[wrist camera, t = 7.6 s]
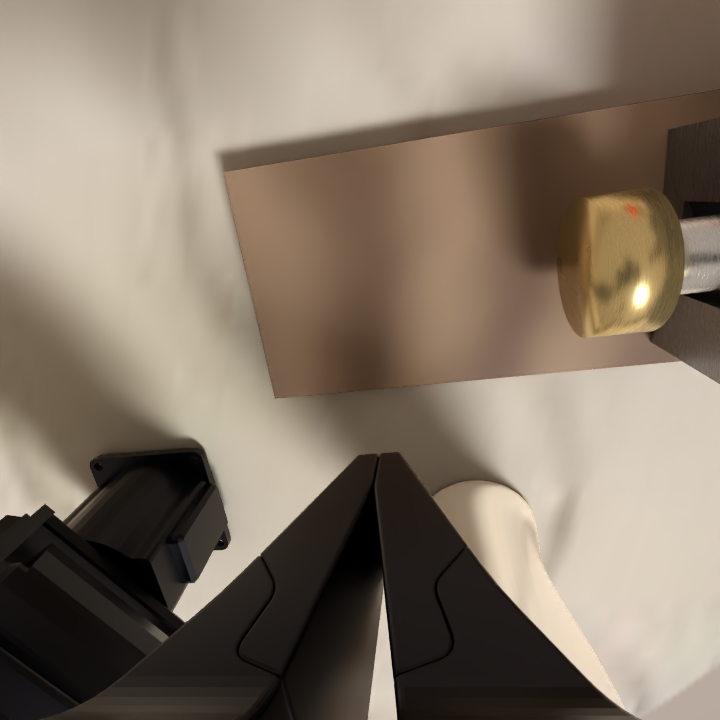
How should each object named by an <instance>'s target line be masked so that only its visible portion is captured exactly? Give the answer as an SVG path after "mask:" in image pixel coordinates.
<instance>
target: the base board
mask: <svg viewBox="0 0 720 720" xmlns="http://www.w3.org/2000/svg"><path fill="white" fill-rule="evenodd" d="M718 117H720V90H714V91H708V92H702V93H696V94H690V95H684V96H678V97H672V98H666V99H660V100H654V101H648V102H642V103H636V104H630V105H624V106H618V107H612V108H606V109H600V110H594V111H588V112H582V113H576V114H570V115H564V116H558V117H552V118H546V119H540V120H534V121H528V122H522V123H516V124H510V125H504V126H498V127H492V128H486V129H480V130H474V131H468V132H462V133H456V134H450V135H444V136H438V137H432V138H426V139H420V140H414V141H408V142H402V143H396V144H390V145H384V146H378V147H372V148H366V149H360V150H354V151H348V152H342V153H336V154H330V155H324V156H318V157H312V158H306V159H300V160H294V161H288V162H282V163H276V164H270V165H264V166H258V167H252V168H246V169H240V170H234V171H228V172H224V177H225V181H226V185H227V190H228V194H229V199H230V203H231V207H232V212H233V216H234V220H235V225H236V229H237V234H238V238H239V242H240V247H241V251H242V256H243V260H244V264H245V269H246V273H247V277H248V282H249V286H250V291H251V295H252V299H253V304H254V308H255V313H256V317H257V321H258V326H259V330H260V334H261V339H262V343H263V348H264V352H265V356H266V361H267V365H268V370H269V374H270V378H271V383H272V387H273V391H274V396H275V398H286V397H296V396H307V395H318V394H329V393H340V392H351V391H361V390H372V389H383V388H394V387H405V386H416V385H427V384H437V383H448V382H459V381H470V380H481V379H492V378H502V377H513V376H524V375H535V374H546V373H557V372H567V371H578V370H589V369H600V368H611V367H622V366H632V365H643V364H654V363H665V362H676V361H681V360H679V359H678V358H676V357H675V356H673V355H671V354H670V353H668V352H666V351H665V350H663V349H661V348H660V347H658V346H656V345H655V344H653V343H651V342H650V338H651V331H649V332H639V333H629V334H619V335H610V336H600V337H590V338H582V337H580V336H578V335H577V334H576V333H575V332H574V331H573V329H572V328H571V326H570V324H569V323H568V320H567V318H566V316H565V313H564V310H563V306H562V302H561V298H560V292H559V286H558V276H557V248H558V238H559V232H560V227H561V223H562V220H563V217H564V214H565V212H566V210H567V208H568V206H569V205H570V203H571V202H572V201H573V200H575V199H576V198H580V197H587V196H594V195H601V194H608V193H615V192H622V191H629V190H636V189H643V188H654V189H656V190H659V191H660V192H662V193H663V186H664V174H665V162H666V150H667V139H668V129H672V128H676V127H681V126H685V125H689V124H693V123H697V122H702V121H706V120H710V119H714V118H718Z"/></svg>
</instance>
